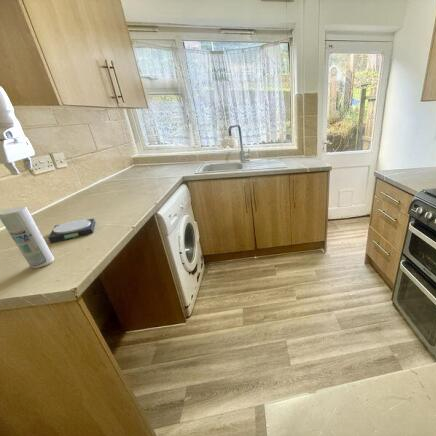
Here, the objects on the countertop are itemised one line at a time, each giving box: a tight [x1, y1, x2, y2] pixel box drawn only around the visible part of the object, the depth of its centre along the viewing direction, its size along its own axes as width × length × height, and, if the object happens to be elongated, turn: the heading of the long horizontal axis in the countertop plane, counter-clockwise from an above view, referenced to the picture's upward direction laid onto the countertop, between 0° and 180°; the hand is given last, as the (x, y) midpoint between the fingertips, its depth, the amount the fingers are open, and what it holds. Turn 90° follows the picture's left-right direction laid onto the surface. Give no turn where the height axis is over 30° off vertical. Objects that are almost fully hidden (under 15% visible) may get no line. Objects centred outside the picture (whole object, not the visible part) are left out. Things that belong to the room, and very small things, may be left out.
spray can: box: [0, 206, 55, 269], centre depth 81 cm, size 6×6×20 cm
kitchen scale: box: [47, 218, 96, 244], centre depth 106 cm, size 14×14×3 cm
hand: (23, 172), depth 90 cm, fingers open, 8 cm apart
